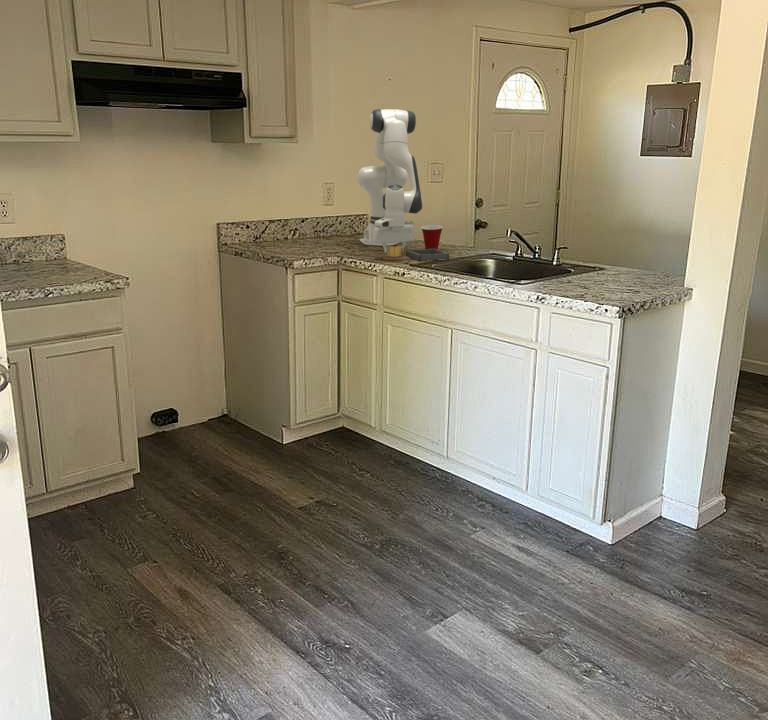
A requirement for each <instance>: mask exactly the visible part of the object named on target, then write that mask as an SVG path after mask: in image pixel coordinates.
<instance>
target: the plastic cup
mask: <svg viewBox="0 0 768 720" xmlns="http://www.w3.org/2000/svg"><path fill="white" fill-rule="evenodd" d="M443 228H444V226H442V225H439V224H432V225H431V224H430V225H429V224H428V225H424V226H421V227H420V229H421V230H422V231H421V232H422V236H423V242H424V249H437V250H439V244H440V240H441V235H442V231H443Z"/></svg>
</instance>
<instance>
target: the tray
mask: <svg viewBox="0 0 768 720" xmlns="http://www.w3.org/2000/svg"><path fill="white" fill-rule="evenodd" d="M405 256H407V257H409V258H410V260H414V261H416V260H417V261H416V262H419V261H425V262H428V261H427V260H439V259H449V260H450V253H449V252H445V251H444V250H443V251H442V250H440V249H438V250H437V249H425V248H422V249H406V250H405Z"/></svg>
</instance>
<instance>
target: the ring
mask: <svg viewBox="0 0 768 720" xmlns="http://www.w3.org/2000/svg"><path fill="white" fill-rule="evenodd" d="M396 245H397V246H396V247H393V246H391V245H386V247H387V248H388V249H389V253H386V255H387V256H390V257H399V256H401V255H402V252H401V246H402V245H400V244H396Z"/></svg>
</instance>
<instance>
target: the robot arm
mask: <svg viewBox="0 0 768 720" xmlns="http://www.w3.org/2000/svg"><path fill="white" fill-rule="evenodd" d="M368 120H369V121H368V122H369V126H370V129H371V130H372V131H373V132H375V133H376V137H375V138H376V139H375V143H374V144H375V145H374V146H375V147H374V156H375V157H376V158H377V159H378V160H379V161H381V162H383V163H384V165H370V166H364V167H361V168H360V169H359V171H358V173H357V183H358V184H359V186H360V187H361V188H362V189H364V190H365V192H366V193H367V194H368V196H369V200H370V205H371V206H370V208H371V216H369V217H370V218H369V224H368V225H367V227H366V228H365V230H362V235H363V237H362V238H360V239H359V242H361V243H362V244H363V245H366V246H382V247H383V250H384V253H386V254H387V253H389V249H388V248H387V246H388V245H398V244H399V243H400V244H401V245H400V246H401V253H402V252H403V253H404V250H405V249H404V248H405V247H406V245H407V243H411V242H415V240H416V231H415V230H416V224H415V222H413V220H406V221H405V213H407V214H412V215H413V214H418V213H419V212H421V211H422V209H423V207H424V206H423V205H424V199H423V196H422V191H421V186H420V180H419V179H420V177H419V174H418V173H419V172H418V168H417V162H416V159H415V156H414V155H412V154H411V153H410V150H409V145H408V144H409V139H408V138H409V137H408V134H412V133H413V132H414V131H415V128H416V126H417V117H416V114H415V112H413V111H411V110H403V109H399V108H398V109H396V108H393V109H390V108H387V109H384V108H383V109H381V108H377V109H374V110H372V112H371V114H370V115H369V119H368ZM408 175H409V176H408ZM408 179H409V182H410V190H409V191H407V190H406V191H405V190H404V186H406V184H407V182H408ZM383 189H386V191H385V193H383Z"/></svg>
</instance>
